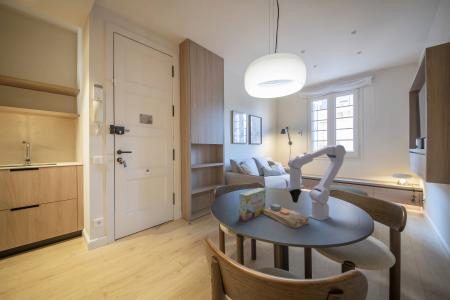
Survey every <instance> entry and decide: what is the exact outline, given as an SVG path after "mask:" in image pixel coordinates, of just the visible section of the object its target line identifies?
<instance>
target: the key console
mask: <svg viewBox="0 0 450 300" xmlns="http://www.w3.org/2000/svg"><path fill="white" fill-rule="evenodd" d="M284 209H285V210H287V211H290V210H291V209H286V208H284V207H282V206H281V210H284ZM292 211H293V210H292ZM292 211H290V212H292ZM263 214H264V215H265V216H267V217H269V218H272V219H273V220H275V221H277V222H280V223H282V224H283V225H286V226H288V227H290V228H292V229H297V228H300V227H302V226H304V225H305V226H306V225H307V224H309V223H310V217H309V216H305V215H303V214H301V219H298V220H294V219H292V218H290V217H289V215H286V216H285V215H283V214H280V213H279V211H277V212H275V211H273V210H271V207H268V208H265V209H264V213H263Z"/></svg>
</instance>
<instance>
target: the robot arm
mask: <svg viewBox="0 0 450 300" xmlns="http://www.w3.org/2000/svg"><path fill="white" fill-rule="evenodd" d="M346 154H347V151H346V148H345V147H344V145H341V144H327V145H326V146H325V145H324V146H323V147H321V148H319V149H317V150H314V151H313V152H303V153H302V154H300V155H296V156H295V157H292V158H290V159H289V160H288V161H287V165H288V167H289V185H288V186H286V187H284V191H285V192H287V193H288V192H289V194H290V197H291V200H292V203H295V204H297V203H298V201H299V198H300V195H301V193H302V192H303V191H302V190H303V189H306V188H305V185H304V184H301V168H303V166H305V165H307V164H310V163H311V162H313V161H314V159H316V158H318V157H321V156H325V155H326V156H327V157H328V159H329V160H330V164H329V166H328V167H327V169H326V171H325V173H323V176H322V178H321V179H320V181H319V183H318V184H317V185H315V186H314V187H313V188H312V189H311V190H309V195H308V196H309V198H310V199H311V214H308V216H307V217H308V218H312V219H315V220H318V221H321V222H322V221H325V220H327V219H330V218H331V216H330V214H329V213H330V206H329V203H328V202H329V199H330V198H329V196H330V195H331V192H330V190H329V189H330V187H331V185H332V183H333V181H334V180H335V178H336V176H337V175H338V173H339V171H340V169H341V167H342V165H343V163H344V158H345V156H346Z"/></svg>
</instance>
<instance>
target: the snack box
mask: <svg viewBox="0 0 450 300" xmlns="http://www.w3.org/2000/svg"><path fill="white" fill-rule="evenodd" d="M266 191H267V190H266V188H264V187H263V188H261V187H257V188H254V189H251V190H247V191H244V192H241V193H239V196H238V197H239V198H238V199H239V200H238V208H239V209H238V219H239V220H240V221H243V222H249V221H250V220H252V219H254V218H256V217H258V216H260V215H262V214H264V209H266Z"/></svg>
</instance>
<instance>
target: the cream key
mask: <svg viewBox="0 0 450 300" xmlns="http://www.w3.org/2000/svg"><path fill="white" fill-rule="evenodd" d="M301 215H302V212H299V211H297V210H292V212H289V217H290V218H292V219H294V220H298V219H301Z"/></svg>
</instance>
